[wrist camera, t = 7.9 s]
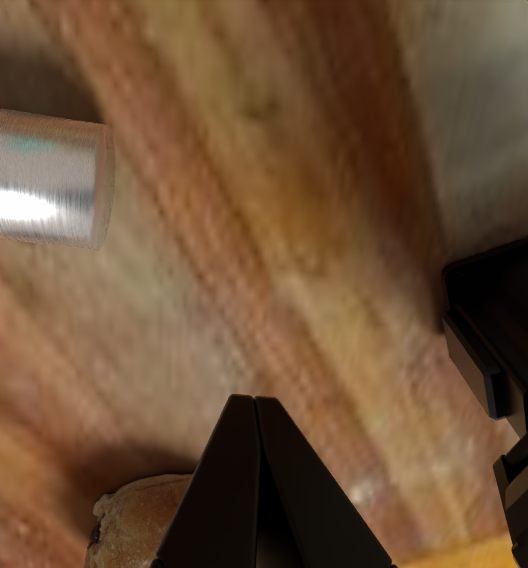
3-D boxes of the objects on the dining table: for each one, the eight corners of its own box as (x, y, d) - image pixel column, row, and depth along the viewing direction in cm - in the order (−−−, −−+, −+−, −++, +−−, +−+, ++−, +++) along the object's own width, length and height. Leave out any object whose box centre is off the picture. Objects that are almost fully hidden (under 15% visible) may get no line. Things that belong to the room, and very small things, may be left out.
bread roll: (148, 407, 28) (49, 514, 21) (308, 489, 26) (256, 636, 19) (126, 511, 33) (40, 626, 26) (261, 587, 31) (205, 734, 24)
